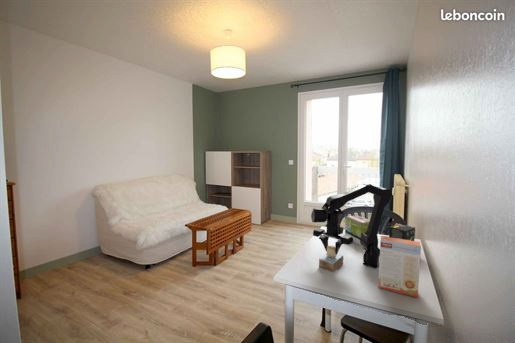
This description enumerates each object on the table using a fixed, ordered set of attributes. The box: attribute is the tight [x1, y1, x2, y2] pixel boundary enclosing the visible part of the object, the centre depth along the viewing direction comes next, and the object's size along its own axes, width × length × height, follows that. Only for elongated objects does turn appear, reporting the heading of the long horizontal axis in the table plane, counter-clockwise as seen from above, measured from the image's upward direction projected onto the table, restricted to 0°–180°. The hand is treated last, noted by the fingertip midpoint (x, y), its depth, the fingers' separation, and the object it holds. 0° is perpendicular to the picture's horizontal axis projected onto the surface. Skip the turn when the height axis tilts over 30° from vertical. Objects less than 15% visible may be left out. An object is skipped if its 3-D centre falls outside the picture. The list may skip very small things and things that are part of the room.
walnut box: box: [318, 256, 344, 272], centre depth 119 cm, size 7×12×4 cm, turn 137°
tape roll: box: [326, 245, 337, 257], centre depth 118 cm, size 5×5×4 cm
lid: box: [318, 253, 344, 264], centre depth 119 cm, size 7×12×1 cm, turn 137°
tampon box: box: [388, 223, 416, 241], centre depth 136 cm, size 11×9×15 cm
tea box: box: [344, 214, 370, 247], centre depth 152 cm, size 15×10×15 cm
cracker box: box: [378, 235, 422, 298], centre depth 97 cm, size 14×6×21 cm, turn 59°
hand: (331, 252), depth 118 cm, fingers closed on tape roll, 5 cm apart
